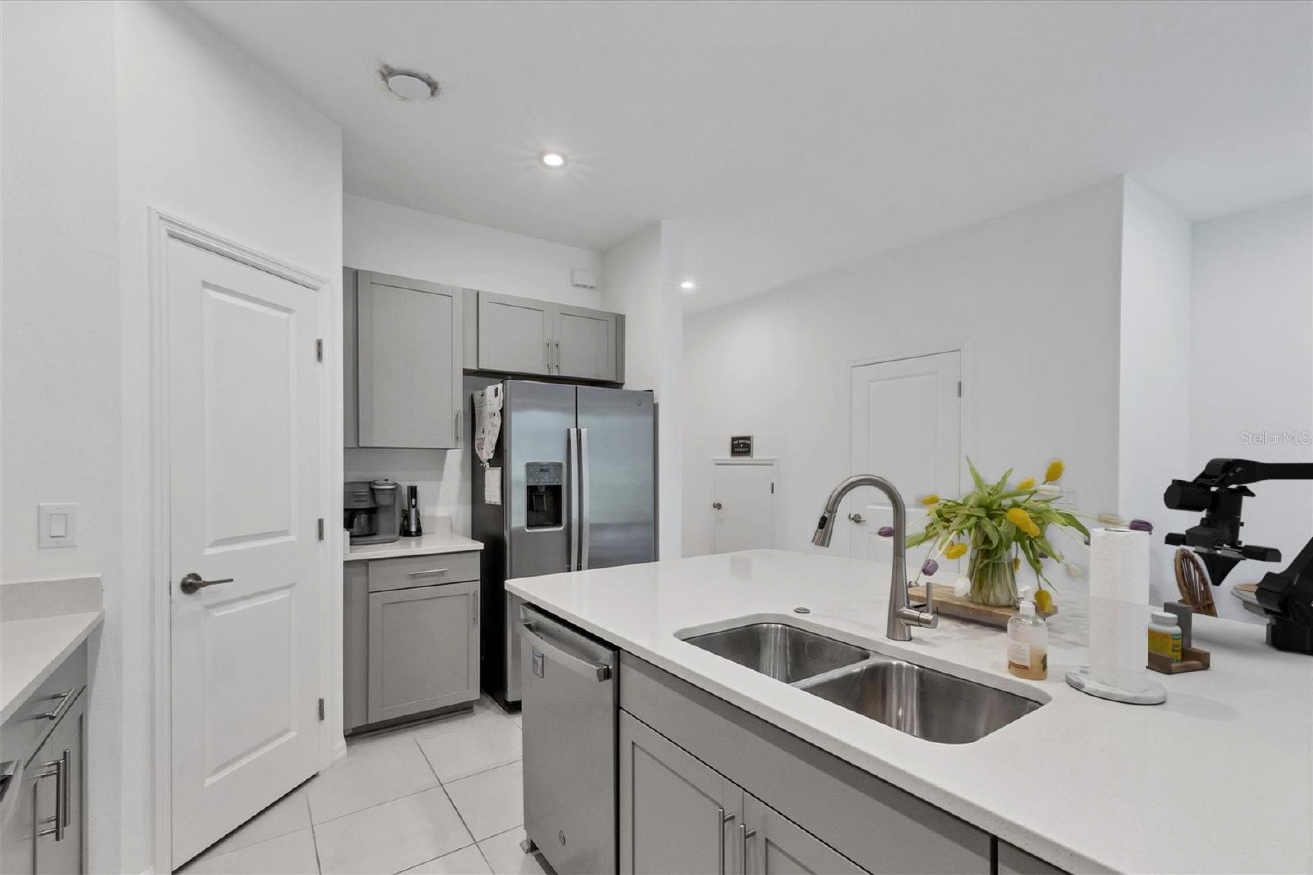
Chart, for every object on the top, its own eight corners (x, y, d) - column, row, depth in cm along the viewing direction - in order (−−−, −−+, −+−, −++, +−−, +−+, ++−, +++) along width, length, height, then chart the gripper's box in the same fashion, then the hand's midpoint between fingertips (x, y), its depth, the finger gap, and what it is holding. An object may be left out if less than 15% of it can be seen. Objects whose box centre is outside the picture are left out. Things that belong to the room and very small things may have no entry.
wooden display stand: (1153, 650, 127) (1154, 597, 127) (1210, 668, 118) (1211, 610, 118) (1112, 655, 124) (1113, 601, 124) (1167, 673, 114) (1168, 614, 114)
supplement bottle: (1151, 655, 125) (1152, 608, 125) (1185, 664, 120) (1186, 615, 120) (1141, 660, 122) (1142, 612, 122) (1175, 669, 117) (1176, 619, 117)
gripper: (1151, 506, 140) (1144, 574, 140) (1253, 520, 123) (1245, 597, 123) (1183, 509, 144) (1176, 575, 144) (1286, 522, 126) (1278, 598, 126)
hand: (1215, 585), depth 134 cm, fingers closed
